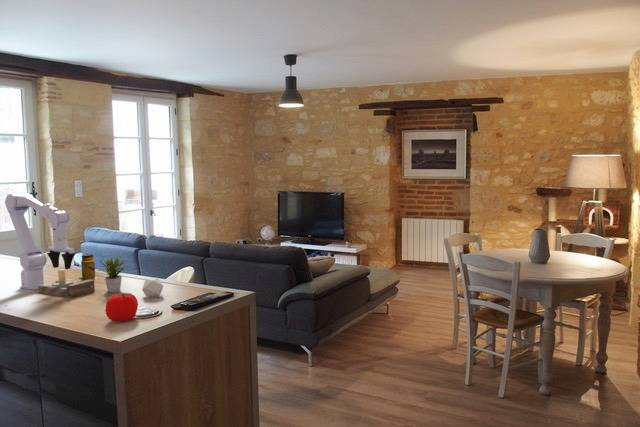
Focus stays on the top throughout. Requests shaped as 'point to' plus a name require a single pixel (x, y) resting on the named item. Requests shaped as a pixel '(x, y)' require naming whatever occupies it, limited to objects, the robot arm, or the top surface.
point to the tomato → (121, 307)
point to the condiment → (87, 267)
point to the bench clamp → (68, 289)
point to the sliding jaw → (62, 279)
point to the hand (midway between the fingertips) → (61, 268)
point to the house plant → (113, 274)
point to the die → (152, 287)
